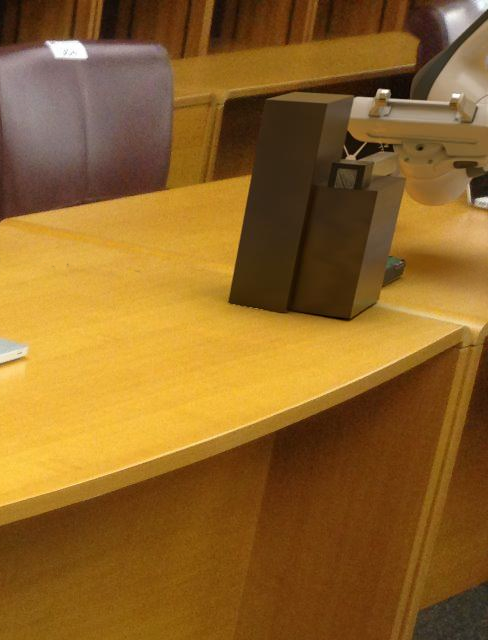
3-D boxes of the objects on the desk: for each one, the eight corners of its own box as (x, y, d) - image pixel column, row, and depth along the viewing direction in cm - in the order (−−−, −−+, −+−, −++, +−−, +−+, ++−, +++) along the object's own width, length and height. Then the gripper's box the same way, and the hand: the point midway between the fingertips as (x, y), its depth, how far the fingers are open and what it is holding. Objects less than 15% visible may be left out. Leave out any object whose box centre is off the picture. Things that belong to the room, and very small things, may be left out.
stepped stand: (378, 300, 207) (425, 96, 196) (345, 321, 196) (392, 107, 185) (265, 285, 216) (303, 89, 204) (227, 305, 205) (265, 99, 193)
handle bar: (402, 172, 205) (407, 148, 203) (360, 190, 191) (365, 165, 190) (370, 169, 207) (375, 146, 206) (326, 187, 193) (332, 162, 192)
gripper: (358, 115, 225) (345, 70, 214) (513, 124, 214) (509, 77, 203) (344, 156, 226) (331, 113, 214) (498, 167, 214) (493, 123, 203)
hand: (419, 96), depth 208 cm, fingers open, 8 cm apart
